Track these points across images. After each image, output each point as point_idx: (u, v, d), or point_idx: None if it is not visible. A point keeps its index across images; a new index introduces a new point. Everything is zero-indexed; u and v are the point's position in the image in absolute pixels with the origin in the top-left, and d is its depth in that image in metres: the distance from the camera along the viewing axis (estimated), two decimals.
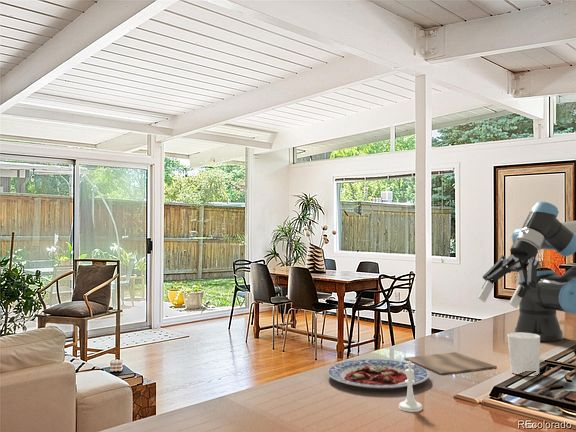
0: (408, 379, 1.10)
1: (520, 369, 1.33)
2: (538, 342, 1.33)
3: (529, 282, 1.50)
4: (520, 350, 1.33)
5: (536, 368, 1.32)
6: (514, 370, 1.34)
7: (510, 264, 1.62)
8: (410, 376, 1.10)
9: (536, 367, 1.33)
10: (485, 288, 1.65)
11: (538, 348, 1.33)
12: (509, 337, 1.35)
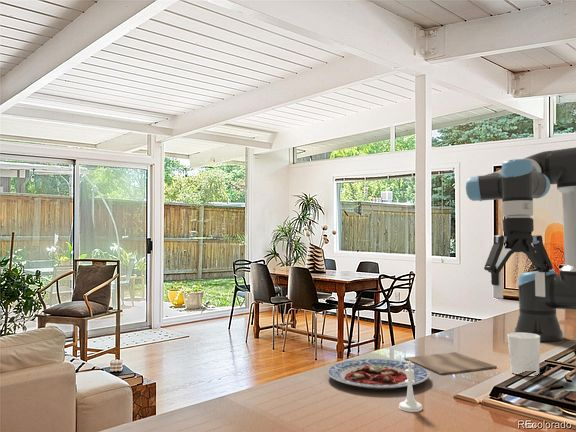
0: (408, 379, 1.11)
1: (520, 369, 1.33)
2: (538, 342, 1.33)
3: (551, 267, 1.39)
4: (520, 350, 1.33)
5: (536, 368, 1.32)
6: (514, 370, 1.34)
7: (518, 247, 1.36)
8: (410, 376, 1.10)
9: (536, 367, 1.33)
10: None
11: (538, 348, 1.33)
12: (509, 337, 1.35)
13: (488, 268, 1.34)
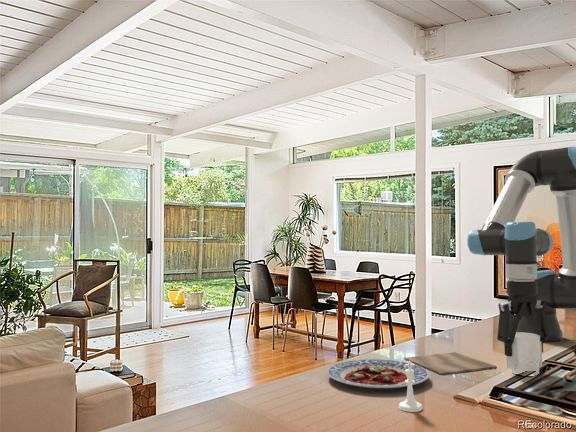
0: (408, 379, 1.10)
1: (520, 368, 1.33)
2: (538, 342, 1.33)
3: (548, 336, 1.37)
4: (520, 350, 1.33)
5: (536, 368, 1.32)
6: (514, 370, 1.34)
7: None
8: (410, 376, 1.10)
9: (536, 367, 1.33)
10: None
11: (538, 348, 1.33)
12: None
13: (501, 339, 1.33)
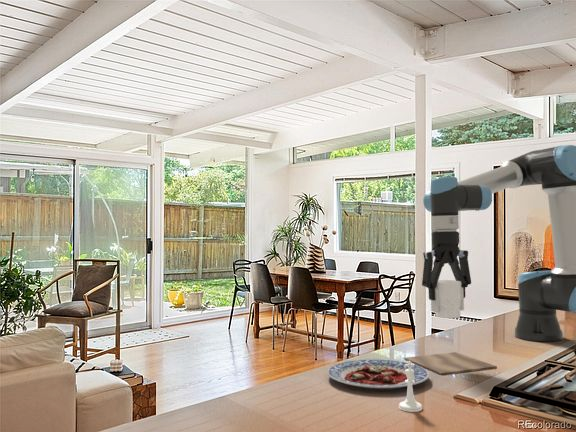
0: (408, 379, 1.11)
1: (442, 311, 1.44)
2: (458, 287, 1.44)
3: (470, 283, 1.49)
4: (442, 294, 1.44)
5: (457, 310, 1.44)
6: (437, 313, 1.46)
7: None
8: (410, 376, 1.10)
9: (457, 309, 1.44)
10: None
11: (459, 292, 1.44)
12: None
13: (425, 284, 1.45)
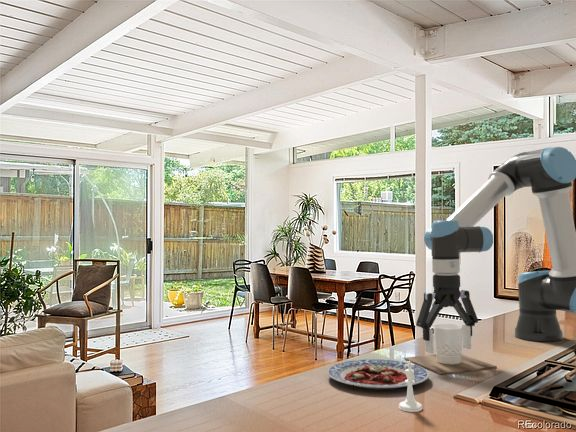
0: (408, 379, 1.10)
1: (443, 357, 1.44)
2: (459, 333, 1.44)
3: (477, 321, 1.49)
4: (443, 340, 1.44)
5: (458, 356, 1.44)
6: (438, 358, 1.46)
7: (446, 302, 1.46)
8: (410, 376, 1.10)
9: (458, 356, 1.44)
10: None
11: (459, 338, 1.44)
12: (434, 328, 1.47)
13: (419, 325, 1.44)
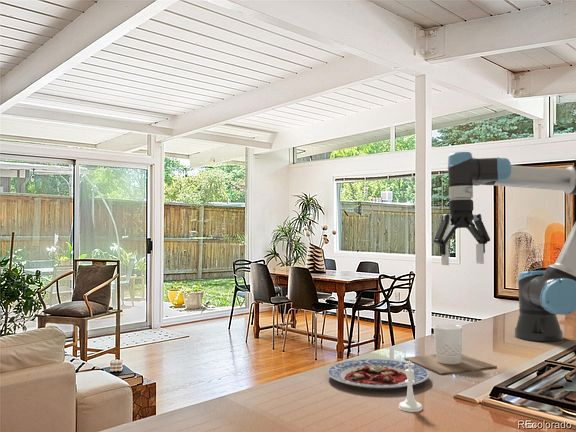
0: (408, 379, 1.11)
1: (443, 357, 1.44)
2: (459, 333, 1.44)
3: (489, 240, 1.71)
4: (443, 340, 1.44)
5: (458, 356, 1.44)
6: (438, 358, 1.46)
7: (461, 223, 1.67)
8: (410, 376, 1.10)
9: (458, 356, 1.44)
10: None
11: (459, 338, 1.44)
12: (434, 328, 1.47)
13: (436, 241, 1.65)
